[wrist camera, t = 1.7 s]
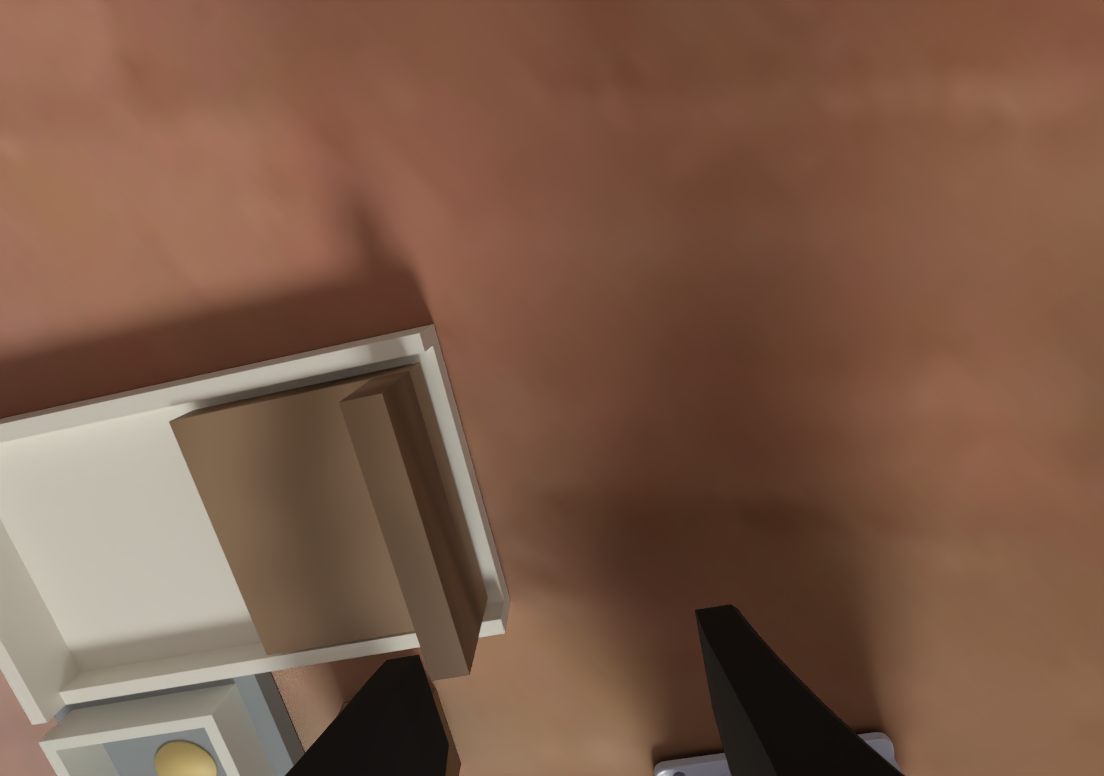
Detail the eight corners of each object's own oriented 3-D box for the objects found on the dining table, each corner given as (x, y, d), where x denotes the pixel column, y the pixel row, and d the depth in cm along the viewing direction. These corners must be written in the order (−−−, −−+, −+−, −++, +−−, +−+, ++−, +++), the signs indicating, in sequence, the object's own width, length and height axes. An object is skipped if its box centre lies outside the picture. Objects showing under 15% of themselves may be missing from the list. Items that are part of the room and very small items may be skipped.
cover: (419, 362, 18) (381, 393, 14) (487, 597, 20) (469, 674, 17) (193, 409, 19) (104, 451, 15) (283, 632, 21) (224, 713, 17)
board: (433, 323, 19) (412, 337, 16) (510, 600, 21) (502, 649, 19) (-37, 426, 20) (-123, 453, 18) (91, 671, 23) (32, 724, 21)
